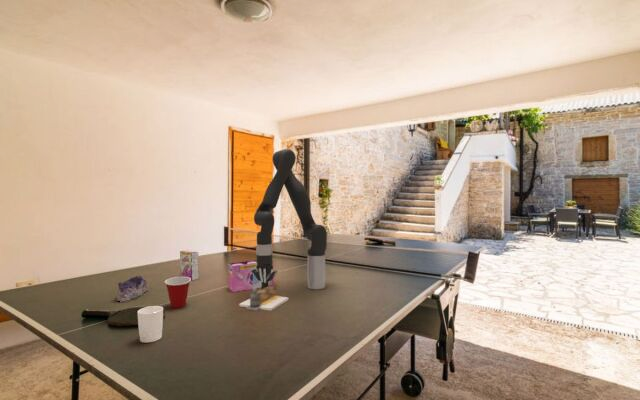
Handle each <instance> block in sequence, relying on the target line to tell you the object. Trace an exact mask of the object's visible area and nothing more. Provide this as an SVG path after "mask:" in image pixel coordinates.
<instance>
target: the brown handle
mask: <svg viewBox="0 0 640 400" xmlns="http://www.w3.org/2000/svg"><path fill="white" fill-rule="evenodd" d="M277 287H278V285H277V284H274V285H270V286H268V287H265V288H263V289H262V288H260V289H259V290H258V291H257V288H253V289H252V292H250V293H249V294H250V296H249V297H250V298H249V299H250V306H258V305H259V302H260V301H262V300H264V299H266V298H268V297H270V296H272V295H276V294H277V293H278V292H277V291H278V290H277V289H278V288H277Z"/></svg>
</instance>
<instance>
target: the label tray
mask: <svg viewBox="0 0 640 400" xmlns="http://www.w3.org/2000/svg"><path fill="white" fill-rule="evenodd" d="M288 301H289V297H286V296H280V295H276V294H273V295H272V296H270V297H268V298H266V299H264V300H262V301H260V302H259V305H258V306H250V298H248V299H246V300H244V301H242V302H240V303H238V306H239V307H243V308H246V310H247V311H253V312H258V311H259V310H263V311H268V312H269V311H270V312H271V311H273V310H274V309H276V308H277V307H279V306H281V305H282V304H284V303H285V302H288Z"/></svg>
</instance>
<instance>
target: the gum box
mask: <svg viewBox="0 0 640 400" xmlns="http://www.w3.org/2000/svg"><path fill="white" fill-rule="evenodd" d="M256 266H257V263H256V259H253V260H246V261H237V262H229V263H228V264H227V270H228V289H229V290H230V291H231V292H232V293H235V292H243V290H244V291H248V290H249V291H250V290H253V288H256V289H262V283H261V281H258V280H257V278H256V276H255V275H254V273H253V272H252V270H254V269H255V268H256ZM272 266H273V267H274V261H273V262H272ZM270 275H271V272H270ZM274 278H275V277H274ZM274 278H273V279H272V280H271V281H269V282H268V286H270V285H275V284H274V283H275V281H274V280H275V279H274Z"/></svg>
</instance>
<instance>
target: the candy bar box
mask: <svg viewBox="0 0 640 400" xmlns="http://www.w3.org/2000/svg"><path fill="white" fill-rule="evenodd" d="M179 268H180V269H179V275H180V276H179V277H189V278H191V281H190V282H192V281H196V280H199V278H200V276H199V272H200V271H199V251H196V250H189V249H185V250H180V251H179Z"/></svg>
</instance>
